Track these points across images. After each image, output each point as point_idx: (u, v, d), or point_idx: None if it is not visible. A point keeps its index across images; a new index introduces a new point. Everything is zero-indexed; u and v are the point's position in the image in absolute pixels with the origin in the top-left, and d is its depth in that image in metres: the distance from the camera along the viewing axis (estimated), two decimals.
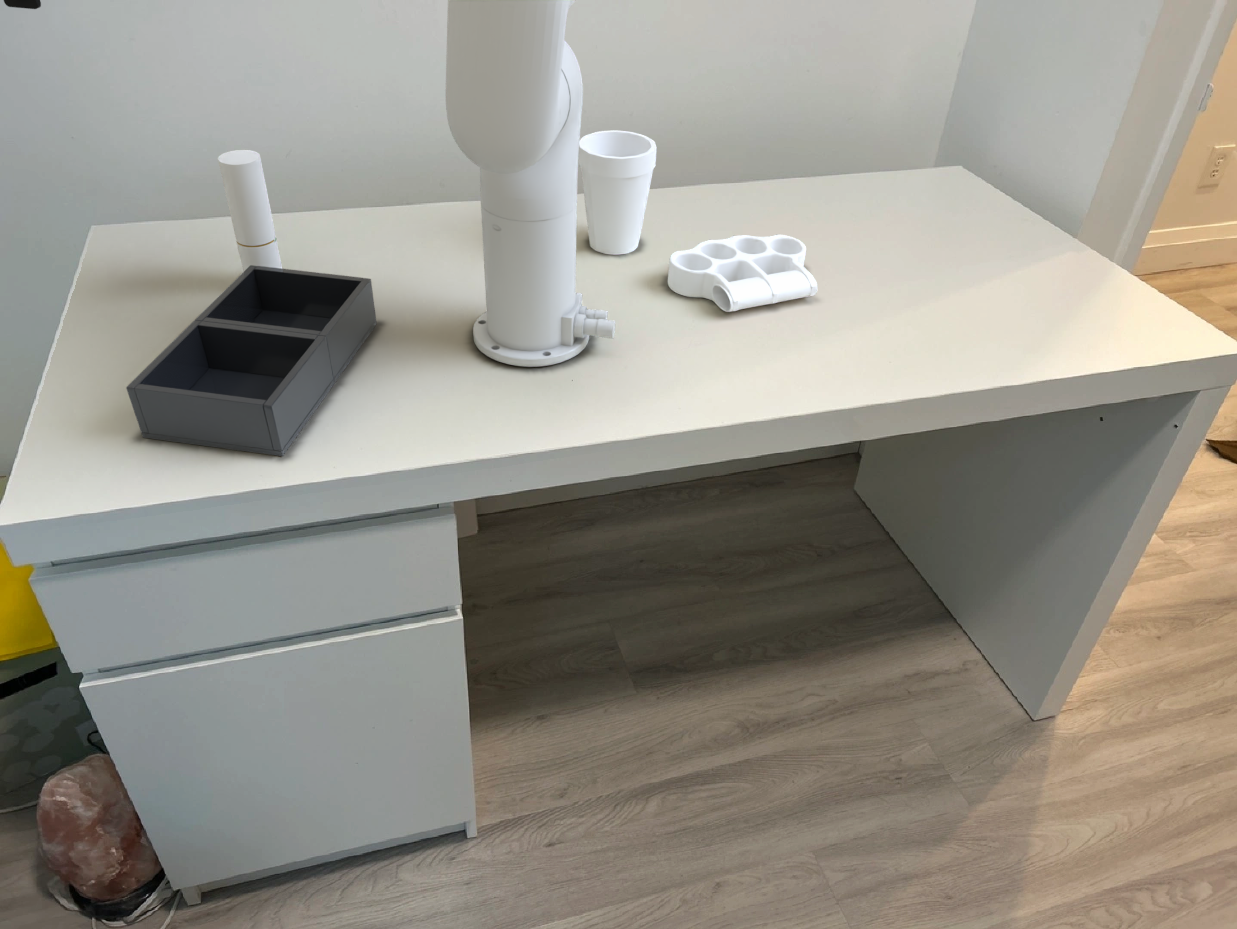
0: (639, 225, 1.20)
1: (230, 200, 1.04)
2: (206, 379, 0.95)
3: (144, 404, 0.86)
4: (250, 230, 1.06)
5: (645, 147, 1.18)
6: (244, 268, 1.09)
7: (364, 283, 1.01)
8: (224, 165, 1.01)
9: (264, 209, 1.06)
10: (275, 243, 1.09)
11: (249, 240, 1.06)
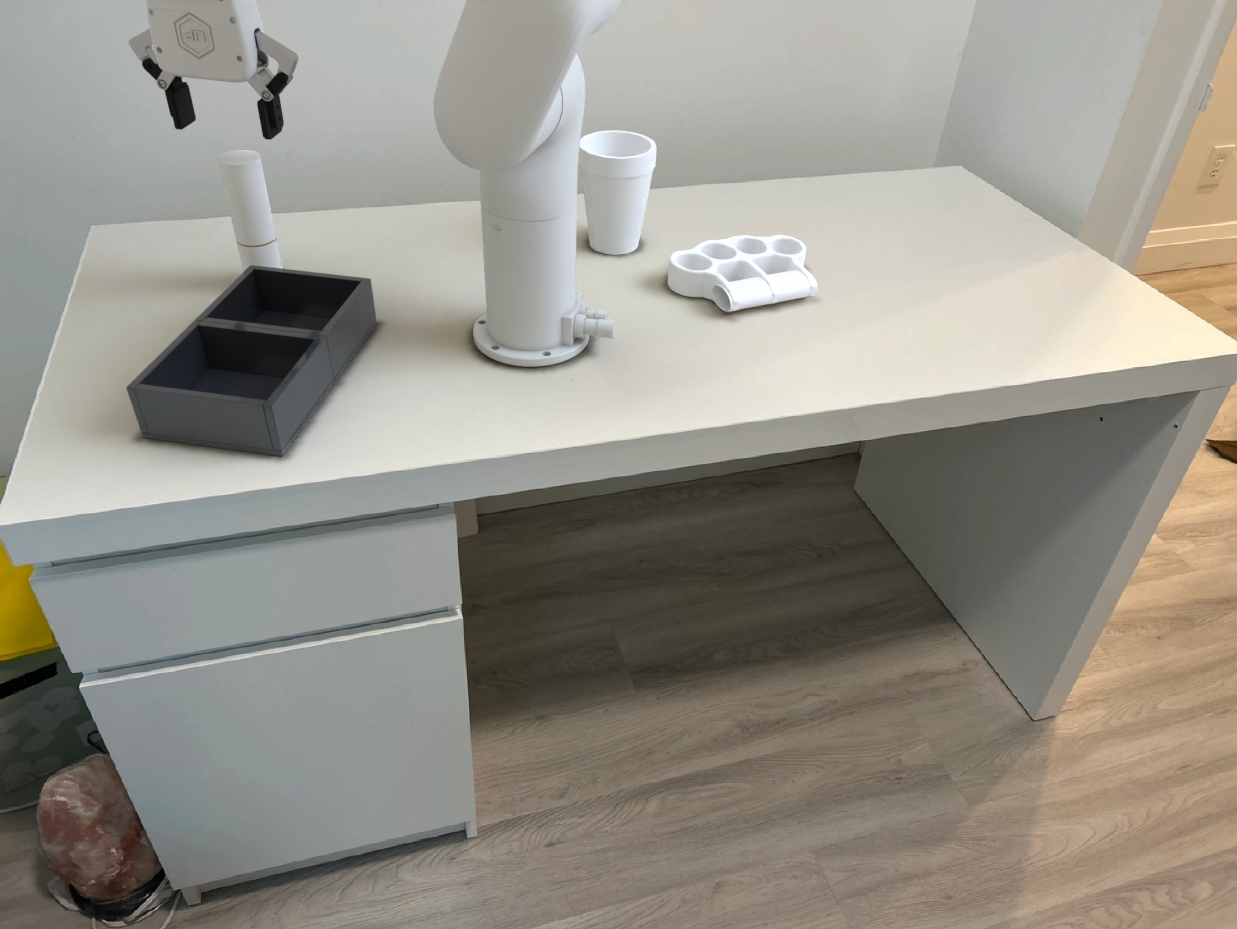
0: (639, 225, 1.20)
1: (230, 200, 1.04)
2: (206, 379, 0.95)
3: (144, 404, 0.86)
4: (250, 230, 1.06)
5: (645, 147, 1.18)
6: (244, 268, 1.09)
7: (364, 283, 1.01)
8: (224, 165, 1.01)
9: (264, 209, 1.06)
10: (275, 243, 1.09)
11: (249, 240, 1.06)
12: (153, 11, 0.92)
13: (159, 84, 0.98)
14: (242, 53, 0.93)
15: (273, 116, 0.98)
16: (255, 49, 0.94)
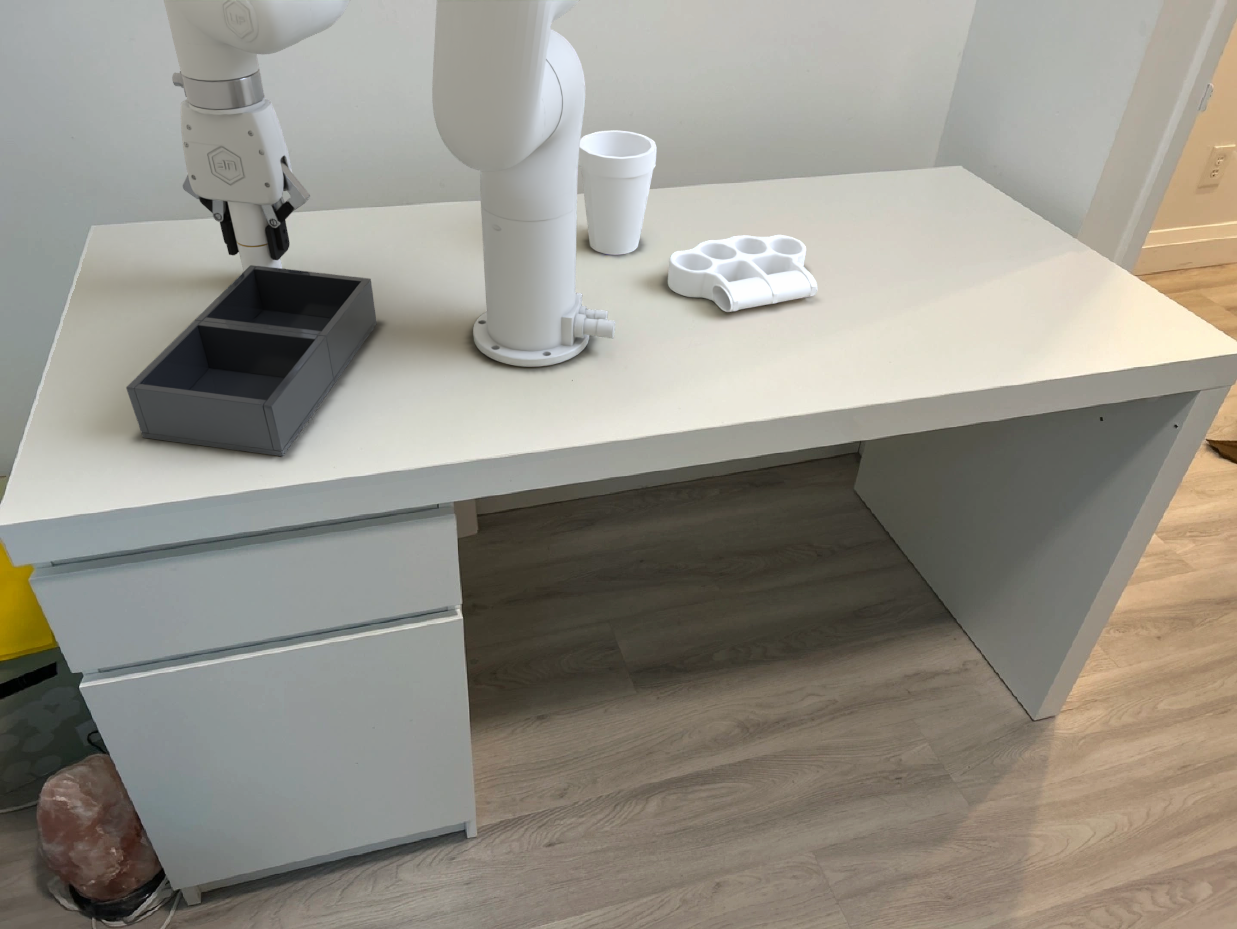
0: (639, 225, 1.20)
1: None
2: (206, 379, 0.95)
3: (144, 404, 0.86)
4: (250, 230, 1.06)
5: (645, 147, 1.18)
6: (244, 268, 1.09)
7: (364, 283, 1.01)
8: None
9: None
10: None
11: (249, 240, 1.06)
12: (188, 143, 1.00)
13: (216, 218, 1.06)
14: (270, 180, 1.01)
15: (280, 240, 1.07)
16: (282, 175, 1.02)
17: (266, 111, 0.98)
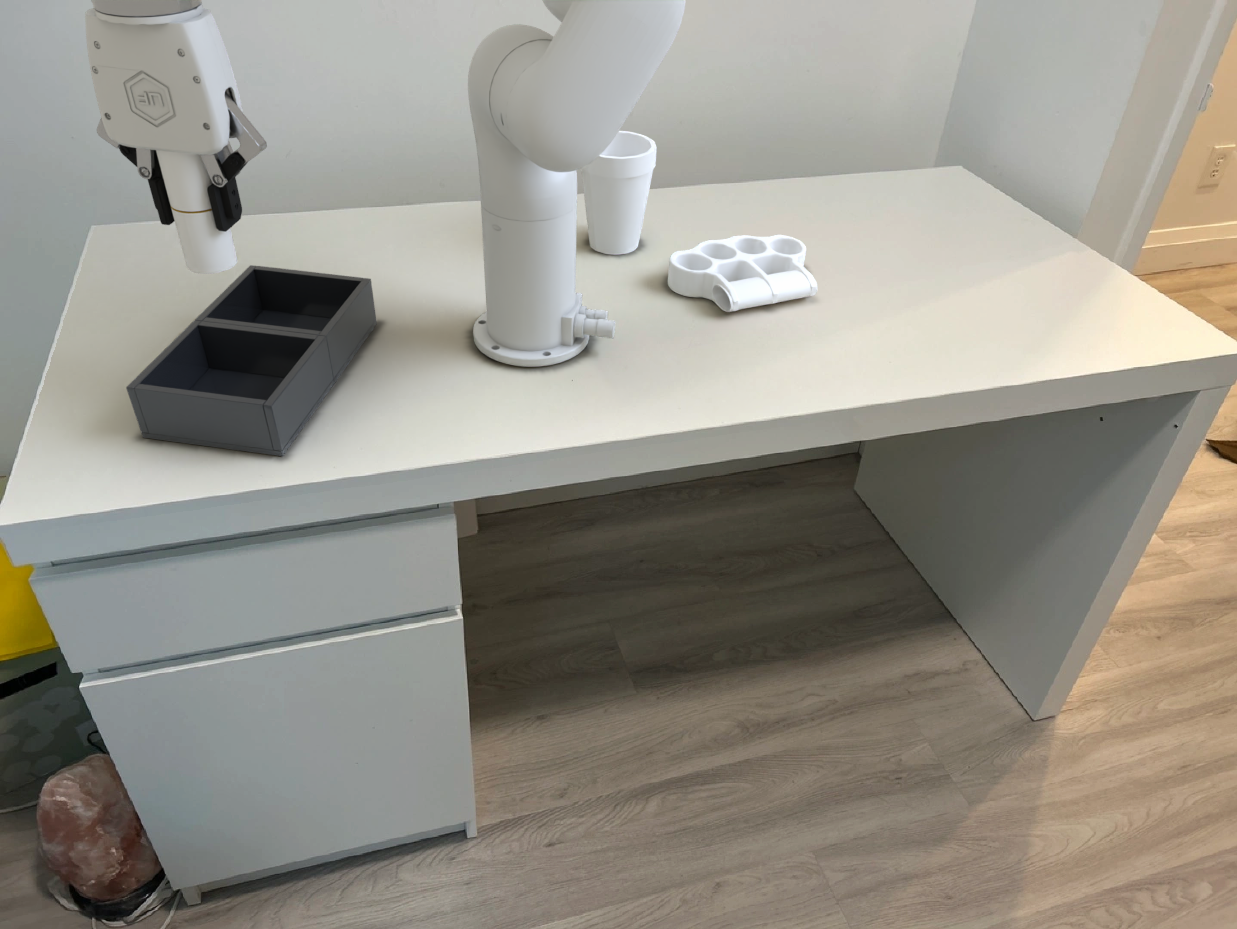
0: (639, 225, 1.20)
1: None
2: (206, 379, 0.95)
3: (144, 404, 0.86)
4: (187, 191, 0.79)
5: (645, 147, 1.18)
6: (182, 242, 0.82)
7: (364, 283, 1.01)
8: None
9: None
10: None
11: (186, 204, 0.80)
12: (97, 69, 0.73)
13: (142, 174, 0.80)
14: (210, 120, 0.74)
15: (228, 204, 0.80)
16: (227, 114, 0.75)
17: (203, 23, 0.71)
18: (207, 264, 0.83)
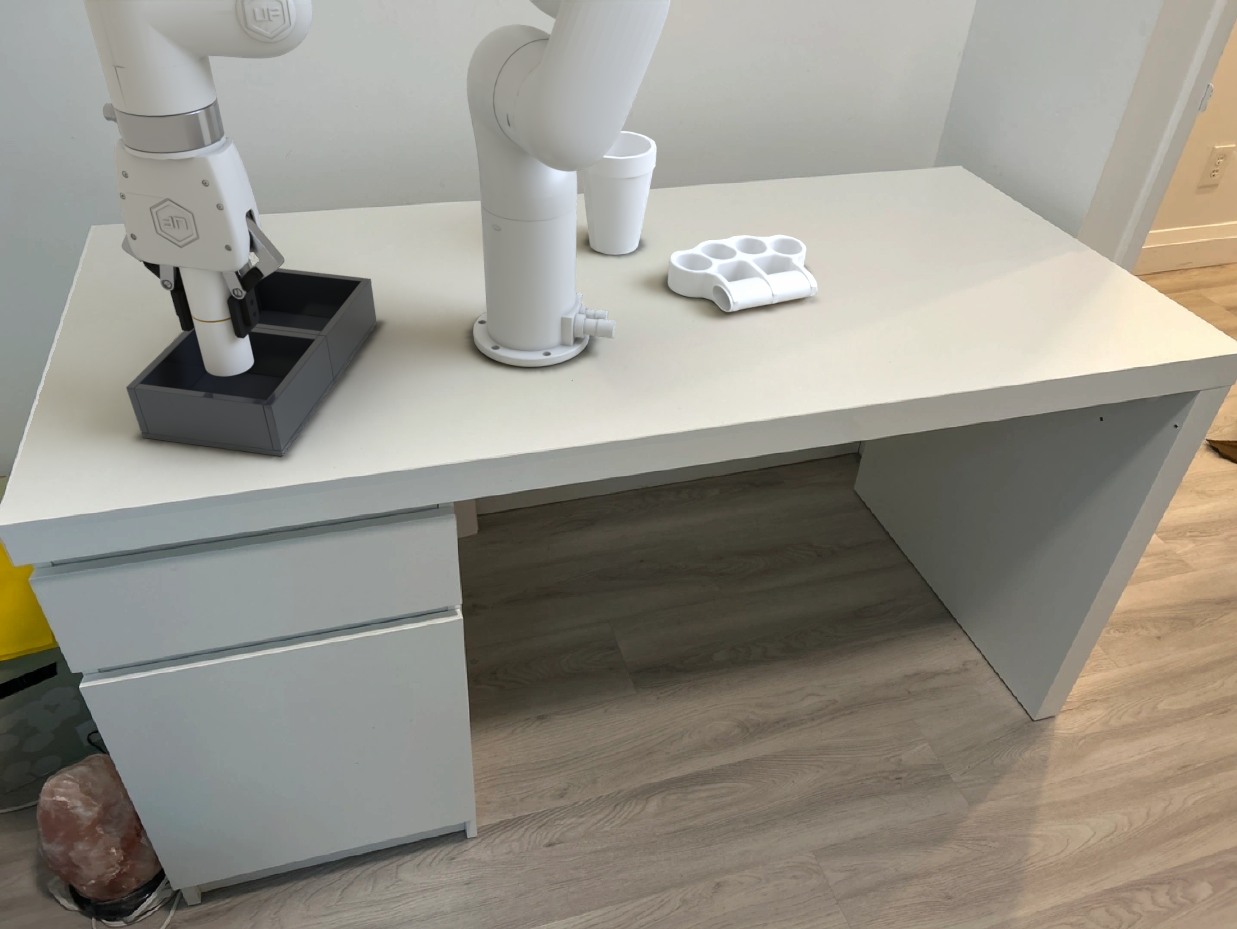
0: (639, 225, 1.20)
1: None
2: (206, 379, 0.95)
3: (144, 404, 0.86)
4: (208, 303, 0.83)
5: (645, 147, 1.18)
6: (201, 347, 0.86)
7: (364, 283, 1.01)
8: None
9: None
10: None
11: (207, 314, 0.83)
12: (125, 195, 0.77)
13: (165, 286, 0.83)
14: (231, 242, 0.78)
15: (246, 313, 0.84)
16: (247, 235, 0.79)
17: (226, 154, 0.75)
18: (225, 367, 0.87)
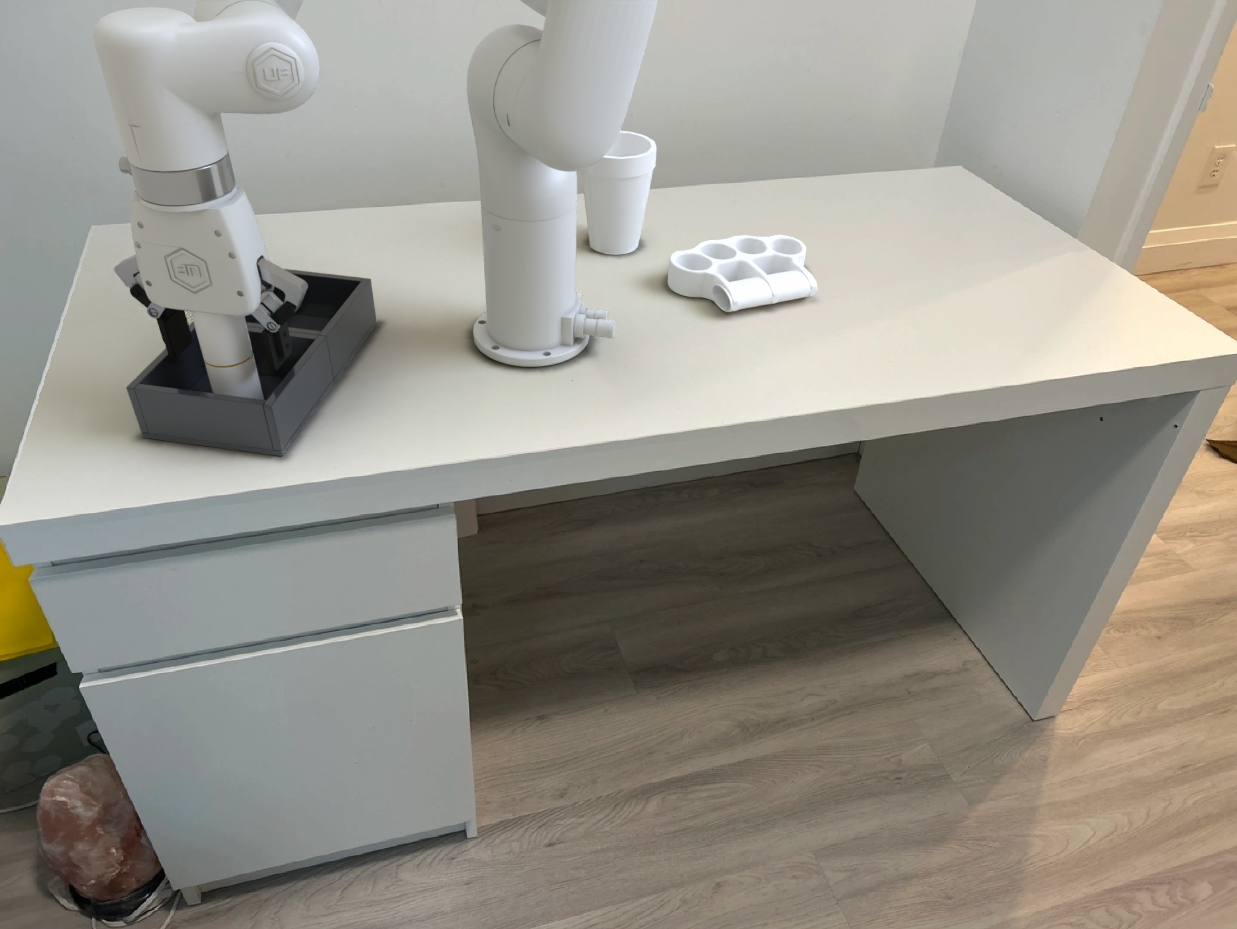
0: (639, 225, 1.20)
1: (195, 313, 0.84)
2: (206, 379, 0.95)
3: (144, 404, 0.86)
4: (220, 349, 0.86)
5: (645, 147, 1.18)
6: (214, 390, 0.89)
7: (364, 283, 1.01)
8: None
9: (237, 323, 0.85)
10: (252, 360, 0.89)
11: (219, 360, 0.86)
12: (140, 244, 0.80)
13: (150, 312, 0.86)
14: (243, 288, 0.81)
15: (280, 345, 0.86)
16: (259, 280, 0.82)
17: (238, 205, 0.78)
18: None
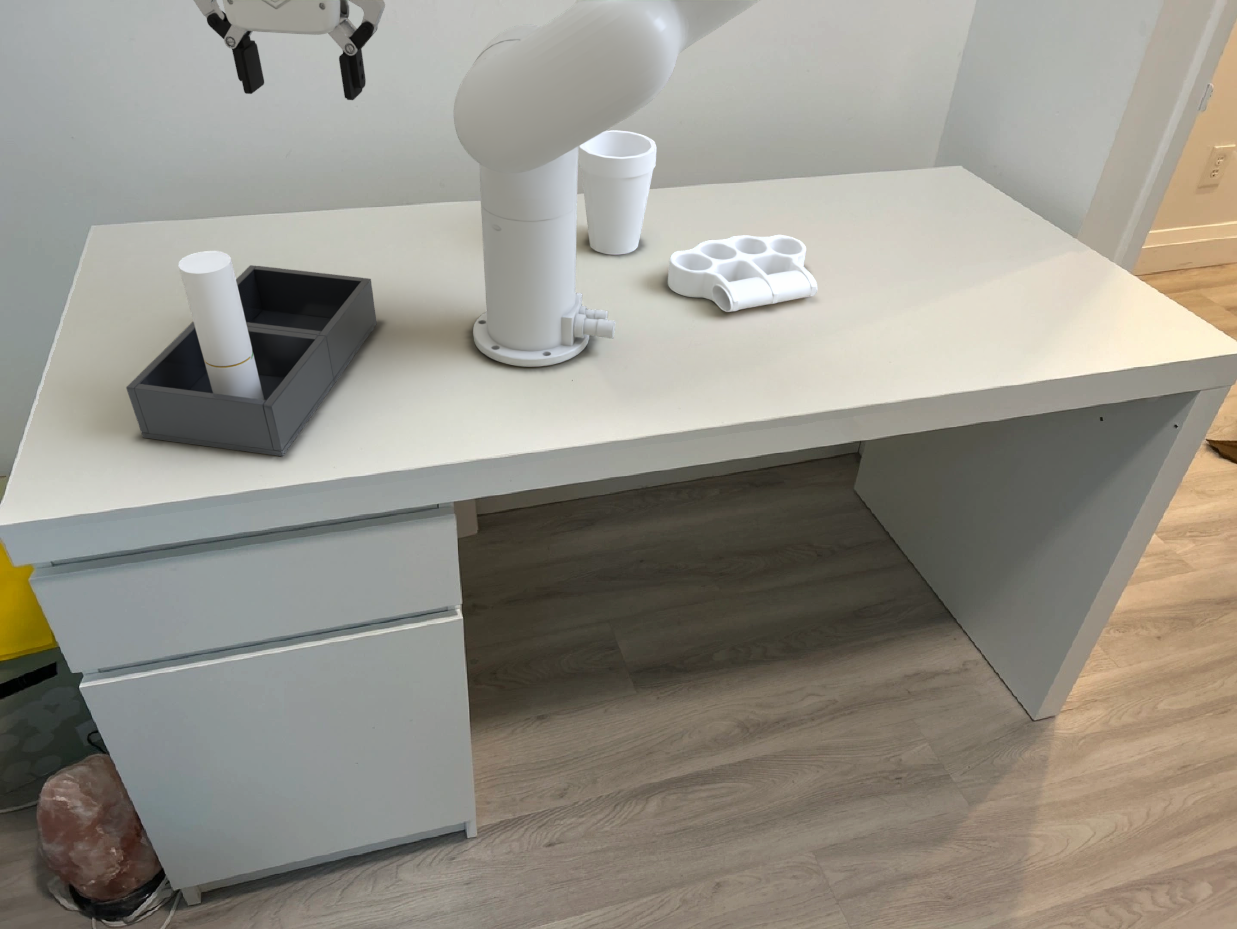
0: (639, 225, 1.20)
1: (195, 313, 0.84)
2: (206, 379, 0.95)
3: (144, 404, 0.86)
4: (220, 349, 0.86)
5: (645, 147, 1.18)
6: (214, 390, 0.89)
7: (364, 283, 1.01)
8: (186, 274, 0.81)
9: (237, 322, 0.85)
10: (252, 360, 0.89)
11: (219, 360, 0.86)
12: None
13: (227, 42, 0.87)
14: (325, 0, 0.83)
15: (356, 73, 0.88)
16: None
17: None
18: None
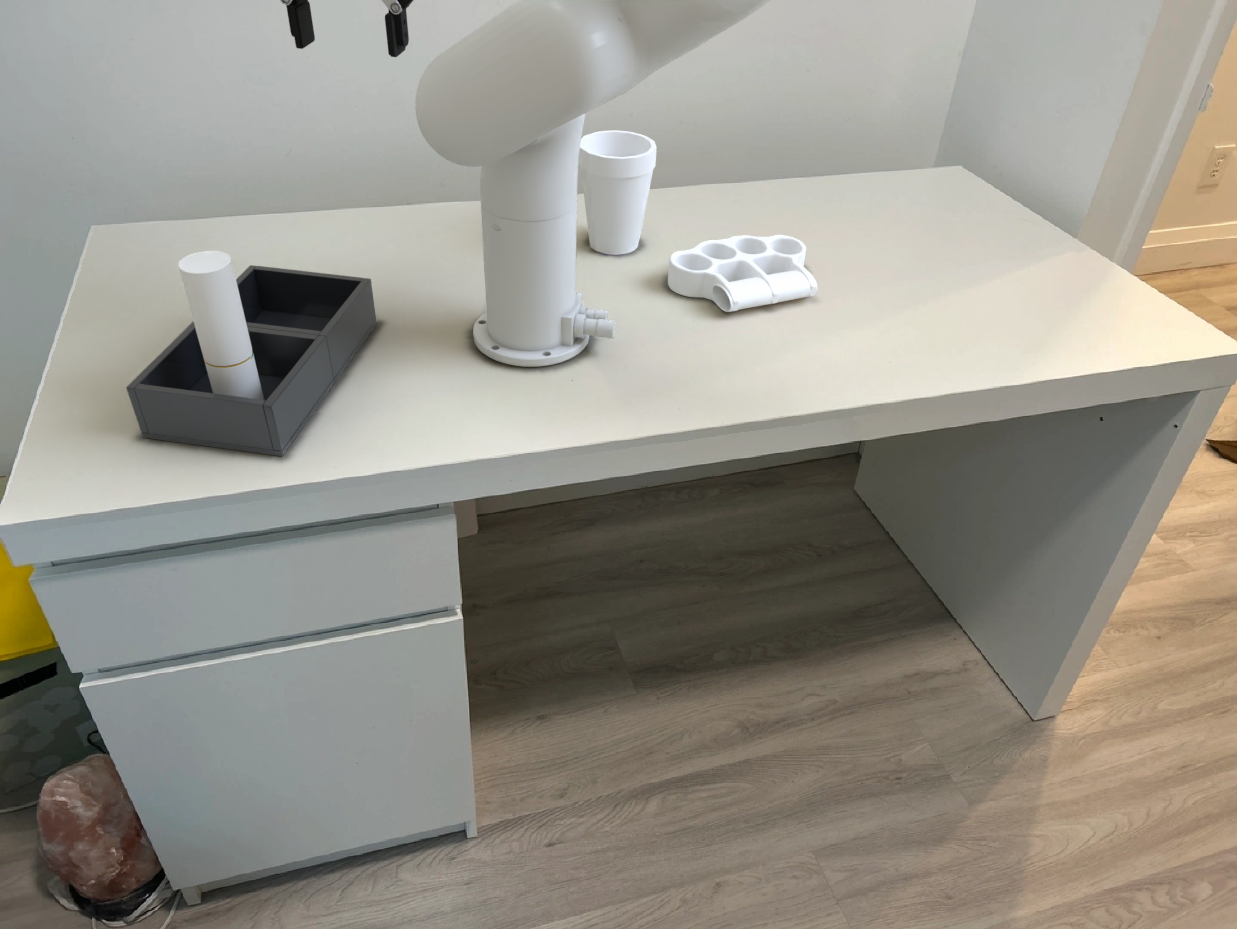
0: (639, 225, 1.20)
1: (195, 313, 0.84)
2: (206, 379, 0.95)
3: (144, 404, 0.86)
4: (220, 349, 0.86)
5: (645, 147, 1.18)
6: (214, 390, 0.89)
7: (364, 283, 1.01)
8: (186, 274, 0.81)
9: (238, 323, 0.85)
10: (252, 360, 0.89)
11: (219, 360, 0.86)
12: None
13: None
14: None
15: (400, 31, 0.94)
16: None
17: None
18: None
